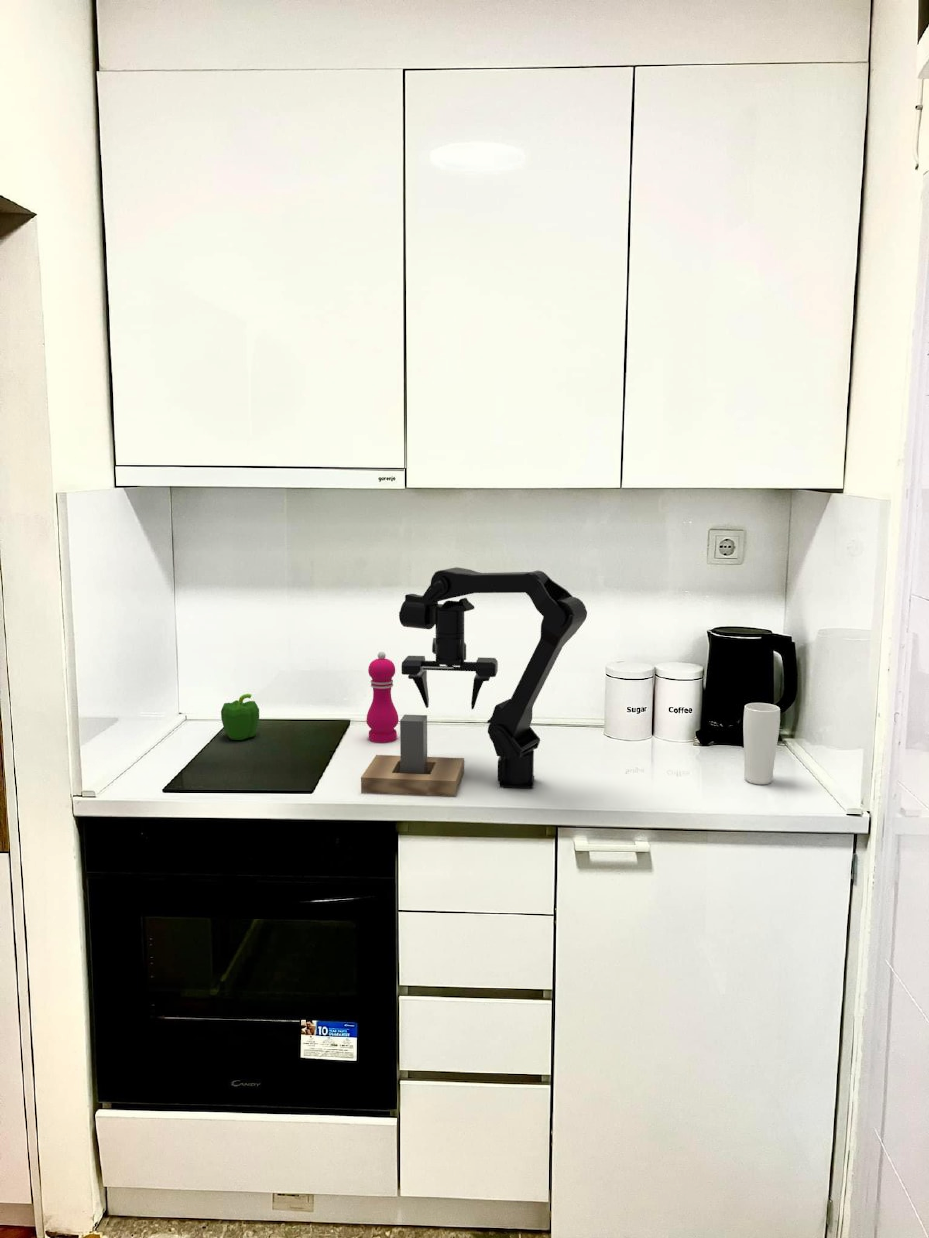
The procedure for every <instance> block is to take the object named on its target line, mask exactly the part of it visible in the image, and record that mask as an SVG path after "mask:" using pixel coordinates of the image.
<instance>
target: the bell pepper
mask: <svg viewBox="0 0 929 1238" xmlns="http://www.w3.org/2000/svg"><path fill="white" fill-rule="evenodd" d="M252 696H253V695H252V694H250V693H245V694H243V695H241V696H240V697H239V698H238V700H234V701H232V702H225V703H223V705H222V707H221V711H220V715H221V716H220V717H221V723H222V726H223V729H224V732H225V734H226V736H227V737H228V738H229V739H230V740H234V741H241V740H242V741H243V740H246V739H248V738H252V737H254V736H255V734H256V733H257V730H258V727H259V720H260V708H259V706H258V705H257V703H256V701H255V700H248V701H244V700H245V699H251V698H252Z"/></svg>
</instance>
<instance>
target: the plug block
mask: <svg viewBox="0 0 929 1238" xmlns="http://www.w3.org/2000/svg"><path fill="white" fill-rule="evenodd" d="M399 727H400V728H399V729H400V730H399V735H400V736H399V737H400V738H399V741H400V744H399V745H400V747H399V748H400V753H399V754H400V755H399V756H401V773H406V774H427V757H428V715H427V714H425V715H424V714H403V716H402V717H401V718H400V720H399Z"/></svg>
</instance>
